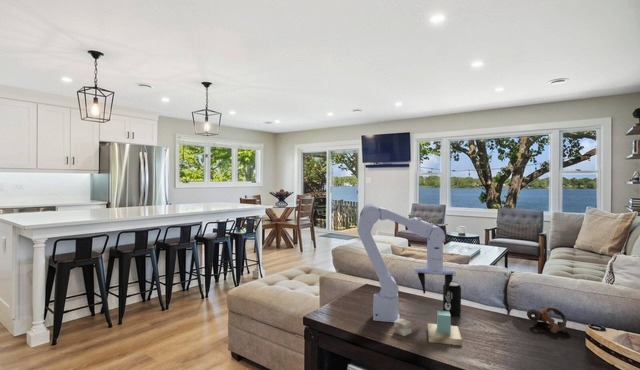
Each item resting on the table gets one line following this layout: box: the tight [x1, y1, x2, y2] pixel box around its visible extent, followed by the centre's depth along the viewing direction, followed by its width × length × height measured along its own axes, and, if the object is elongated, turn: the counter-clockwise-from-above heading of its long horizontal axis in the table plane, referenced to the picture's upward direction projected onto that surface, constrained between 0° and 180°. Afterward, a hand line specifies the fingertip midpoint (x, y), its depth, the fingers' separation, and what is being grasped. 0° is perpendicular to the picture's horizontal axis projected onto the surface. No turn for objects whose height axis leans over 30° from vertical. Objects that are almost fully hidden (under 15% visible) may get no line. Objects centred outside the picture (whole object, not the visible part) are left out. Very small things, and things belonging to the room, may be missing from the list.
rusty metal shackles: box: [526, 306, 568, 334], centre depth 123 cm, size 12×10×8 cm
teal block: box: [436, 310, 452, 334], centre depth 116 cm, size 4×4×6 cm
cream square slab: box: [427, 322, 463, 346], centre depth 116 cm, size 10×10×2 cm
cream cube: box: [393, 317, 412, 337], centre depth 119 cm, size 4×4×4 cm
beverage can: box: [442, 280, 462, 317], centre depth 136 cm, size 7×7×12 cm
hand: (434, 293), depth 130 cm, fingers open, 7 cm apart
